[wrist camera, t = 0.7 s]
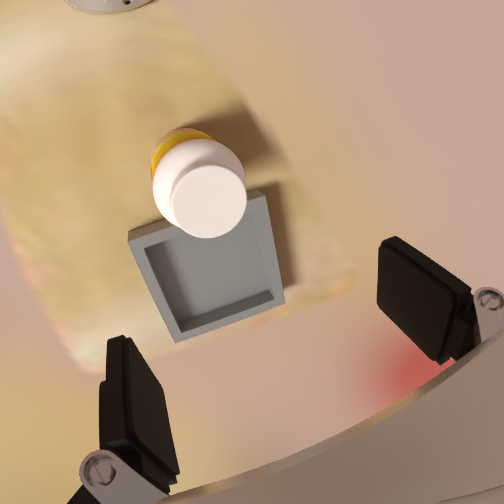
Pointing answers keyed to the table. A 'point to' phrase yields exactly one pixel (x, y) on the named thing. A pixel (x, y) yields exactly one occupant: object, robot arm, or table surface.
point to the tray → (210, 271)
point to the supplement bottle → (198, 183)
